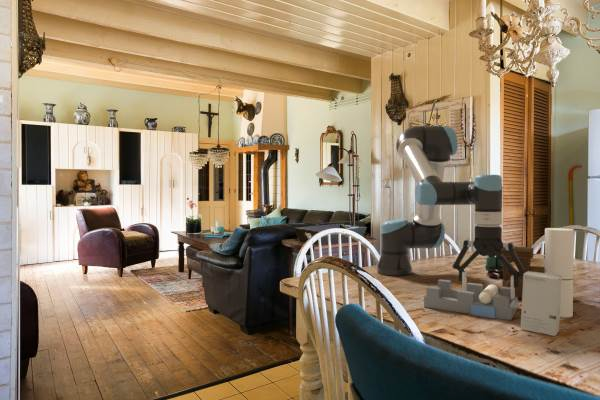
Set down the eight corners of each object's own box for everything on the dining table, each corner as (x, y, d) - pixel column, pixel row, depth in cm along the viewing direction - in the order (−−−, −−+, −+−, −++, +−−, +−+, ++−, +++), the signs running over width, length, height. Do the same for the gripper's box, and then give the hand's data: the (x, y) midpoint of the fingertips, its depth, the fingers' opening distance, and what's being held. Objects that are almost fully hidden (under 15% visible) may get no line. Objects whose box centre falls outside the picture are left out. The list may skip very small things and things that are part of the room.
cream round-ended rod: (476, 303, 122) (478, 291, 121) (486, 292, 134) (488, 282, 133) (489, 306, 120) (491, 295, 119) (498, 295, 132) (500, 285, 131)
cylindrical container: (568, 311, 125) (569, 228, 124) (576, 318, 118) (576, 230, 117) (541, 309, 127) (542, 227, 126) (547, 316, 120) (548, 230, 120)
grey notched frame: (423, 307, 130) (423, 287, 130) (437, 296, 143) (437, 279, 142) (510, 320, 116) (510, 299, 116) (517, 307, 129) (517, 288, 129)
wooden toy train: (498, 297, 142) (498, 248, 141) (502, 290, 151) (502, 244, 151) (568, 305, 131) (568, 253, 130) (567, 297, 141) (568, 248, 140)
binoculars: (492, 256, 166) (483, 250, 176) (491, 281, 168) (482, 274, 178) (515, 256, 166) (505, 250, 175) (514, 282, 167) (504, 274, 177)
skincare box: (520, 330, 109) (520, 273, 109) (525, 324, 114) (526, 270, 113) (557, 337, 104) (558, 277, 103) (561, 330, 108) (562, 274, 108)
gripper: (442, 224, 130) (442, 292, 131) (533, 228, 116) (533, 304, 117) (449, 222, 136) (449, 287, 137) (536, 226, 122) (535, 298, 123)
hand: (487, 295), depth 127 cm, fingers open, 13 cm apart
